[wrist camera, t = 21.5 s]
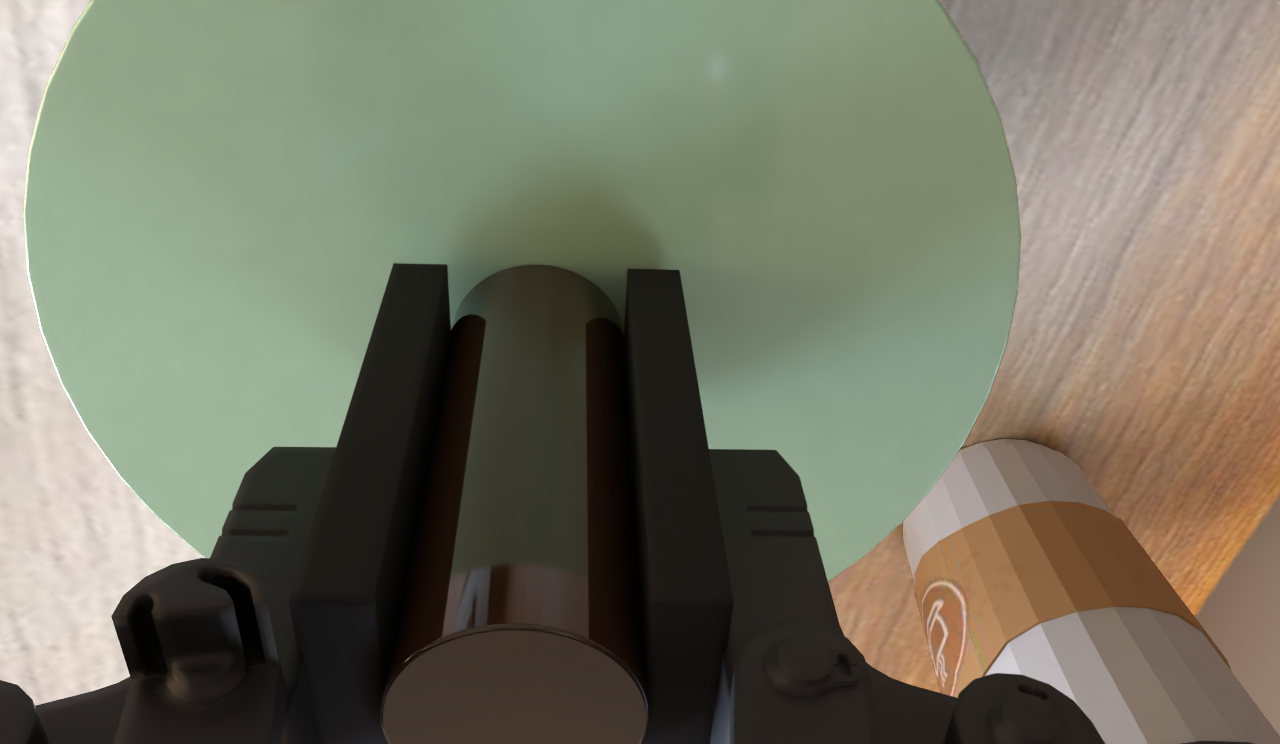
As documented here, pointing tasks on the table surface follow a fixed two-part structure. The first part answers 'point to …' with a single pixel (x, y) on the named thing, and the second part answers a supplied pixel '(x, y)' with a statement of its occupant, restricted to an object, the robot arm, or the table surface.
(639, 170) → the lid
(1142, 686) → the coffee cup
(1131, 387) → the table surface
